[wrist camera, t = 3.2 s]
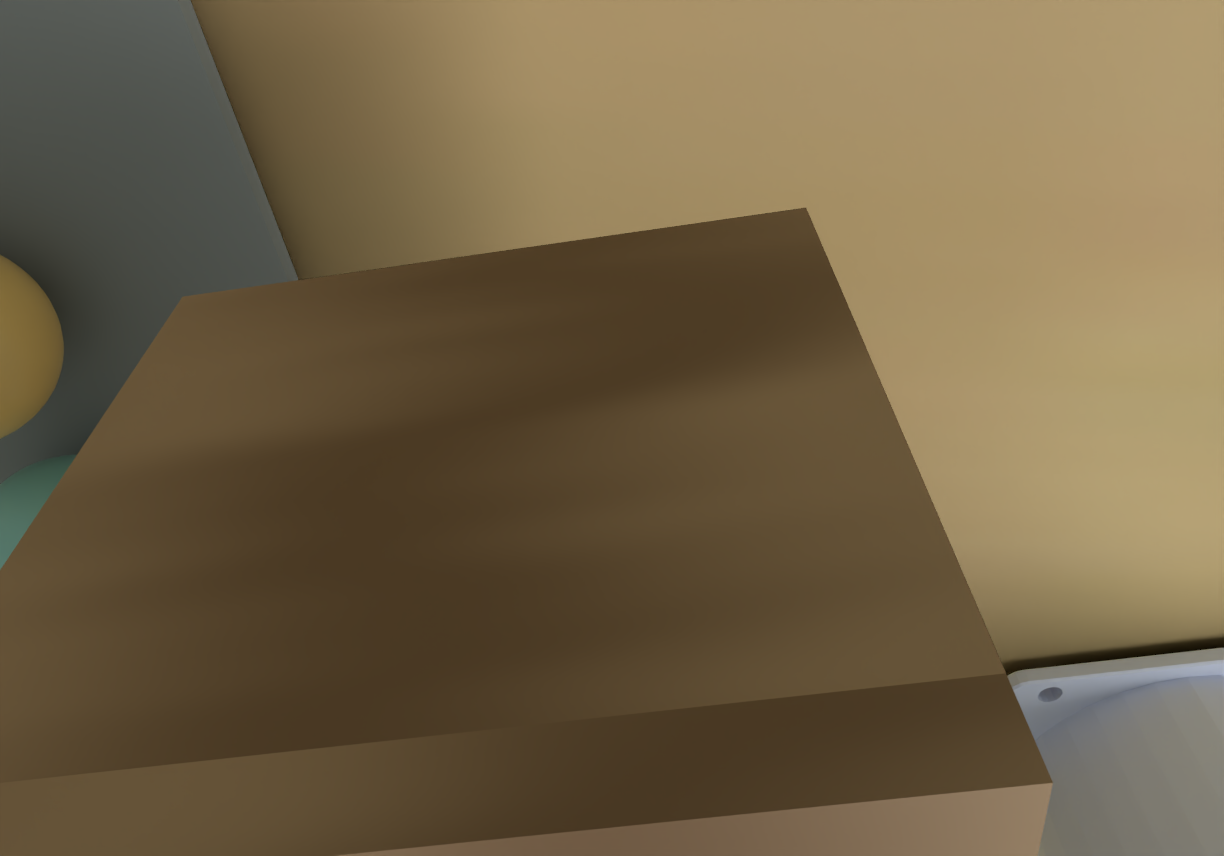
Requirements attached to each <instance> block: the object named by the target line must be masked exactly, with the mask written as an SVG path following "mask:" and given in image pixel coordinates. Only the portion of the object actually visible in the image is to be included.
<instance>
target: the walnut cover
mask: <svg viewBox="0 0 1224 856" xmlns="http://www.w3.org/2000/svg"><path fill="white" fill-rule="evenodd" d="M1052 785H1053V782H1052V779H1051V777H1050V775H1049V772H1048V770H1047V768H1046V765H1045V763H1044V761H1043V758H1042V756H1041V754H1040V751H1039V749H1038V747H1037V744H1036V742H1035V740H1034V737H1033V735H1032V733H1031V730H1030V728H1029V726H1028V723H1027V721H1026V719H1025V716H1024V714H1023V712H1022V709H1021V707H1020V705H1019V702H1018V700H1017V698H1016V696H1015V693H1014V691H1013V689H1012V686H1011V684H1010V682H1009V679H1008V677H1007V675H1006V672H1005V670H1004V668H1003V665H1002V663H1001V661H1000V658H999V656H998V654H997V651H996V649H995V647H994V644H993V642H992V640H991V637H990V635H989V633H988V630H987V628H986V626H985V623H984V621H983V619H982V616H981V614H980V612H979V609H978V607H977V605H976V602H975V600H974V598H973V595H972V593H971V591H970V588H969V586H968V584H967V581H966V579H965V577H964V574H963V572H962V570H961V567H960V565H959V563H958V561H957V558H956V556H955V554H954V551H953V549H952V547H951V544H950V542H949V540H948V537H947V535H946V533H945V530H944V528H943V526H942V523H941V521H940V519H939V516H938V514H937V512H936V509H935V507H934V505H933V502H932V500H931V498H930V495H929V493H928V491H927V488H926V486H925V484H924V481H923V479H922V477H921V474H920V472H919V470H918V467H917V465H916V463H915V460H914V458H913V456H912V453H911V451H910V449H909V446H908V444H907V442H906V439H905V437H904V435H903V432H902V430H901V428H900V426H899V423H898V421H897V419H896V416H895V414H894V412H893V409H892V407H891V405H890V402H889V400H888V398H887V395H886V393H885V391H884V388H883V386H882V384H881V381H880V379H879V377H878V374H877V372H876V370H875V367H874V365H873V363H872V360H871V358H870V356H869V353H868V351H867V349H866V346H865V344H864V342H863V339H862V337H861V335H860V332H859V330H858V328H857V325H856V323H855V321H854V318H853V316H852V314H851V311H850V309H849V307H848V304H847V302H846V300H845V297H844V295H843V293H842V291H841V288H840V286H839V284H838V281H837V279H836V277H835V274H834V272H833V270H832V267H831V265H830V263H829V260H828V258H827V256H826V253H825V251H824V249H823V246H822V244H821V242H820V239H819V237H818V235H817V232H816V230H815V228H814V225H813V223H812V221H811V218H810V216H809V214H808V211H807V209H806V208H801V209H793V210H786V211H779V212H772V213H765V214H758V215H751V216H744V217H737V218H730V219H723V220H716V221H709V222H702V223H695V224H688V225H681V226H674V227H667V228H660V229H653V230H646V231H639V232H632V233H625V234H618V235H611V236H604V237H597V238H590V239H583V240H576V241H569V242H562V243H555V244H548V245H541V246H534V247H527V248H520V249H513V250H506V251H499V252H492V253H485V254H478V255H471V256H464V257H457V258H450V259H443V260H436V261H429V262H422V263H415V264H408V265H401V266H394V267H387V268H380V269H373V270H366V271H359V272H352V273H345V274H338V275H331V276H324V277H317V278H310V279H303V280H296V281H289V282H282V283H275V284H268V285H261V286H254V287H247V288H240V289H233V290H226V291H219V292H212V293H205V294H198V295H191V296H184V297H182V298H181V300H180V301H179V303H178V304H177V306H176V307H175V309H174V310H173V312H172V313H171V315H170V316H169V318H168V319H167V321H166V322H165V324H164V325H163V327H162V328H161V330H160V331H159V333H158V334H157V336H156V337H155V339H154V340H153V342H152V343H151V345H150V346H149V348H148V349H147V351H146V352H145V354H144V355H143V357H142V358H141V360H140V361H139V363H138V364H137V366H136V367H135V369H134V370H133V372H132V373H131V375H130V376H129V378H128V379H127V381H126V382H125V384H124V385H123V387H122V388H121V390H120V391H119V393H118V394H117V396H116V397H115V399H114V400H113V402H112V403H111V405H110V406H109V408H108V409H107V411H106V412H105V414H104V415H103V417H102V418H101V420H100V421H99V423H98V424H97V426H96V427H95V429H94V430H93V432H92V433H91V435H90V436H89V438H88V439H87V441H86V442H85V444H84V445H83V447H82V448H81V450H80V451H79V453H78V454H77V456H76V457H75V459H74V460H73V462H72V463H71V465H70V466H69V468H68V469H67V471H66V472H65V474H64V475H63V477H62V478H61V480H60V481H59V483H58V484H57V486H56V487H55V489H54V490H53V492H52V493H51V495H50V496H49V498H48V499H47V501H46V502H45V504H44V505H43V507H42V508H41V510H40V511H39V513H38V514H37V516H36V517H35V519H34V520H33V522H32V523H31V525H30V526H29V528H28V529H27V531H26V532H25V534H24V535H23V537H22V538H21V540H20V541H19V543H18V544H17V546H16V547H15V549H14V550H13V552H12V553H11V555H10V556H9V558H8V559H7V561H6V562H5V564H4V565H3V566H2V568H1V569H0V856H1038V852H1039V847H1040V842H1041V837H1042V833H1043V828H1044V823H1045V818H1046V814H1047V809H1048V804H1049V800H1050V795H1051V790H1052Z"/></svg>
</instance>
